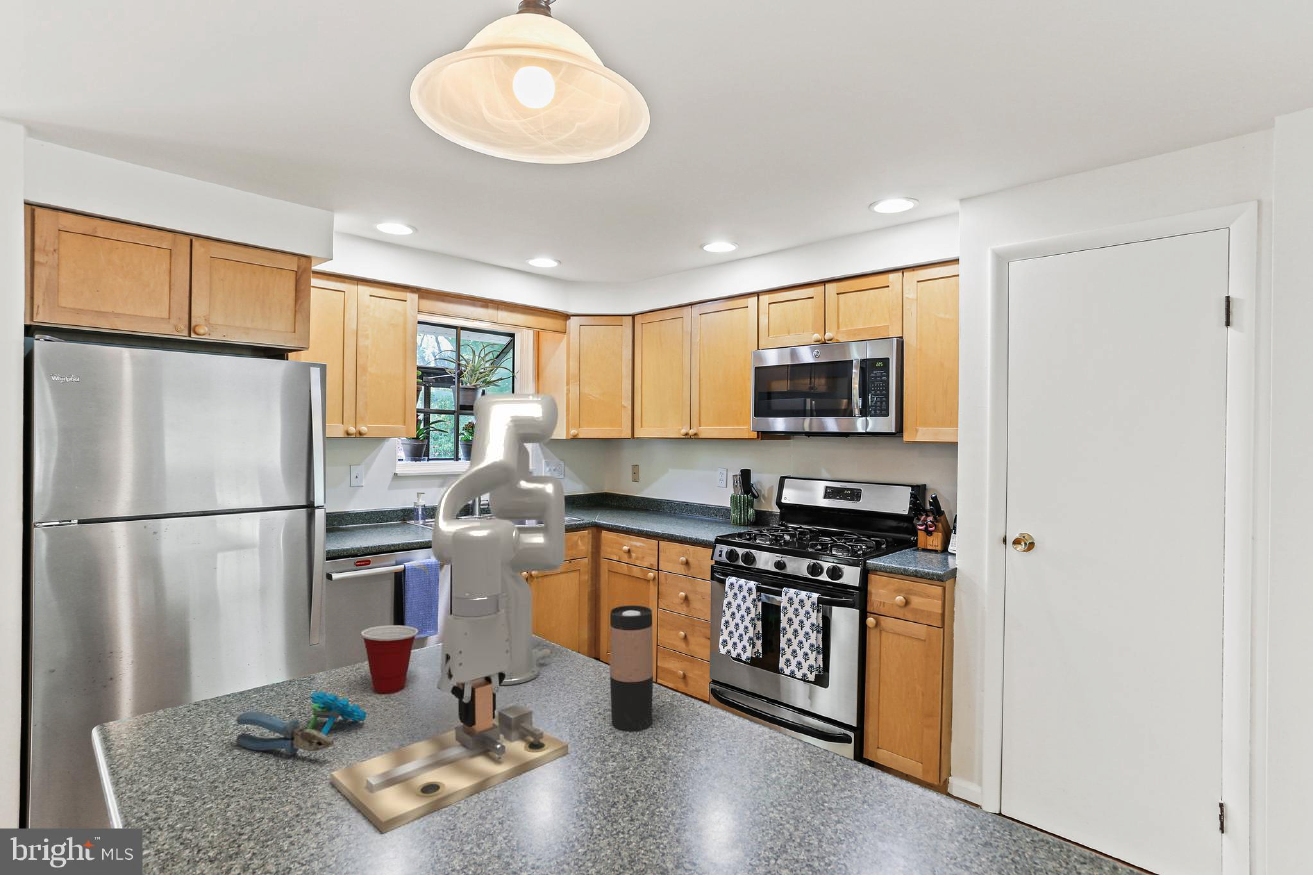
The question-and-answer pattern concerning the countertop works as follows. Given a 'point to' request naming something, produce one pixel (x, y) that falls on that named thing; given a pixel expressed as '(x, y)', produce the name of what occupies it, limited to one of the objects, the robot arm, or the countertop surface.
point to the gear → (333, 710)
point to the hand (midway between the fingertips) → (477, 719)
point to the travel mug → (631, 667)
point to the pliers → (290, 731)
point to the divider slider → (481, 722)
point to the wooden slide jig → (443, 770)
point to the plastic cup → (389, 656)
